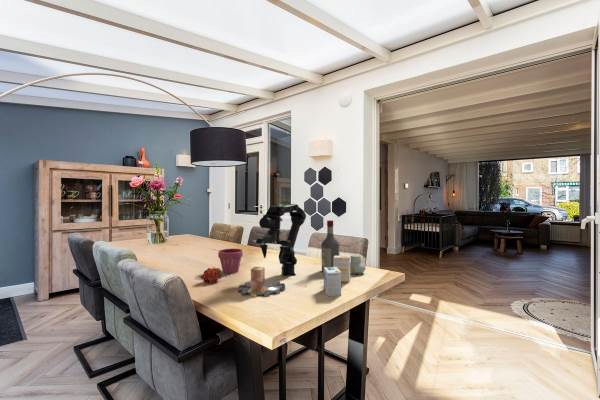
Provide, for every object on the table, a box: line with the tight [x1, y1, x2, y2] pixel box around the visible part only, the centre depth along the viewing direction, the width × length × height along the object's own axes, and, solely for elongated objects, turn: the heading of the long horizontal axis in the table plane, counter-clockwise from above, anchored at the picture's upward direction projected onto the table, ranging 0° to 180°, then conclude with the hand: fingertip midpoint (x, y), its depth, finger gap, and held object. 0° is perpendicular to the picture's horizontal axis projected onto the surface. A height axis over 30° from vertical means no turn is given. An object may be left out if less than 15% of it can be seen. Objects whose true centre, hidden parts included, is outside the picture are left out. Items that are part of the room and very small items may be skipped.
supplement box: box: [333, 255, 351, 283], centre depth 163 cm, size 8×5×13 cm, turn 71°
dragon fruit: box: [199, 266, 223, 284], centre depth 164 cm, size 8×8×12 cm
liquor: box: [321, 219, 340, 273], centre depth 183 cm, size 9×9×30 cm
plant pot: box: [217, 248, 244, 275], centre depth 185 cm, size 14×14×13 cm
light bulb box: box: [323, 267, 342, 297], centre depth 145 cm, size 11×7×11 cm, turn 5°
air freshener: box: [350, 254, 367, 275], centre depth 179 cm, size 11×8×10 cm
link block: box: [250, 266, 266, 291], centre depth 146 cm, size 5×5×10 cm
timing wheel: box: [237, 279, 286, 298], centre depth 151 cm, size 23×23×1 cm
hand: (272, 258), depth 163 cm, fingers open, 9 cm apart
